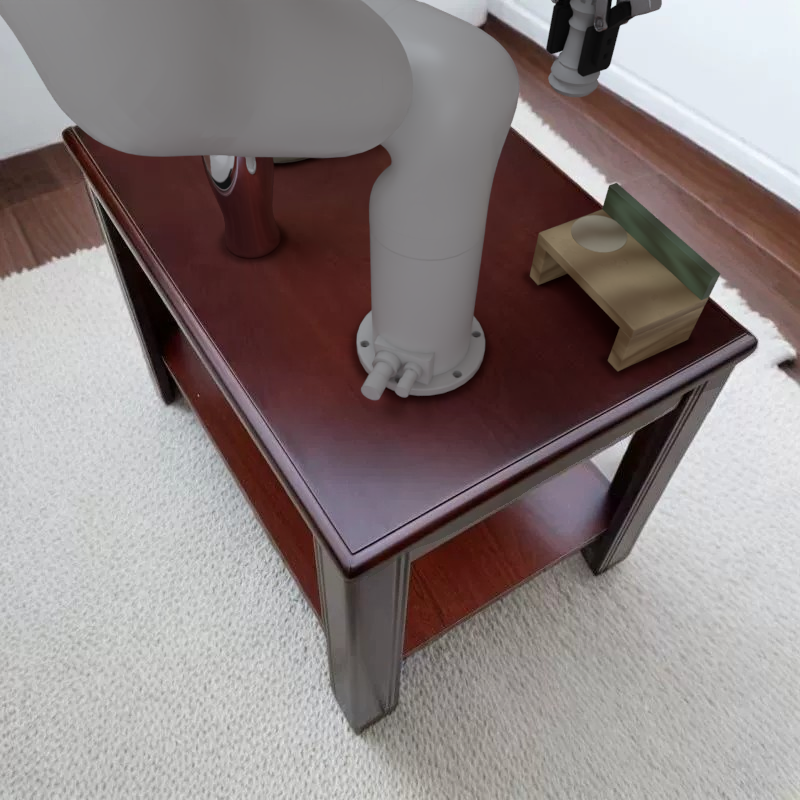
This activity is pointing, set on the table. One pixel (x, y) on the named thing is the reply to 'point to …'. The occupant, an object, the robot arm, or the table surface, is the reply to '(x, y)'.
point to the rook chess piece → (574, 54)
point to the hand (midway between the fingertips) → (577, 58)
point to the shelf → (630, 274)
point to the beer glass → (245, 202)
